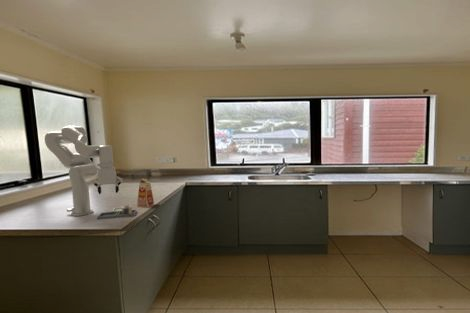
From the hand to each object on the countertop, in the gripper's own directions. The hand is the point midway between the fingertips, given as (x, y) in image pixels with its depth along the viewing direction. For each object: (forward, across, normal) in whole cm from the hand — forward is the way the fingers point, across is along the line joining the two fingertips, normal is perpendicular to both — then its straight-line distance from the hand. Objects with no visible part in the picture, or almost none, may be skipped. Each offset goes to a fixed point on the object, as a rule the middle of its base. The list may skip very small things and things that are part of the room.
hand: (108, 192), depth 167 cm
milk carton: (+15, +19, +20) cm, 32 cm away
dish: (+15, +5, +10) cm, 19 cm away
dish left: (+15, -1, -1) cm, 15 cm away
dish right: (+15, +10, -1) cm, 18 cm away
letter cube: (+14, +10, -1) cm, 18 cm away
